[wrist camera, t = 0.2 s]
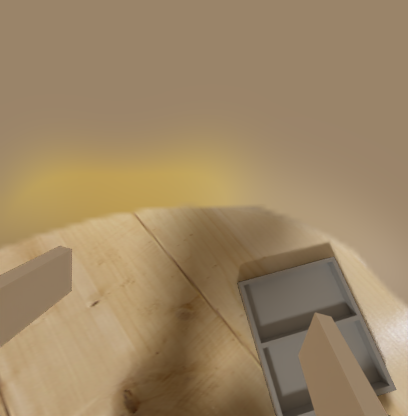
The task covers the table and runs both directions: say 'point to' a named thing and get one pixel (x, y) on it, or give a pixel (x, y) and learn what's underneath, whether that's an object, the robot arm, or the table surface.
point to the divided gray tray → (305, 329)
